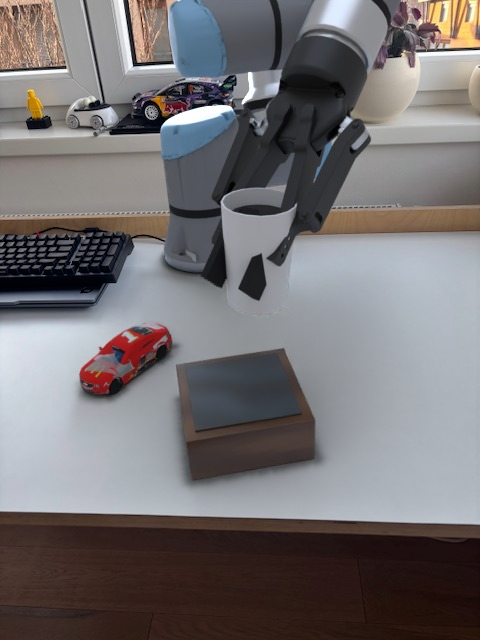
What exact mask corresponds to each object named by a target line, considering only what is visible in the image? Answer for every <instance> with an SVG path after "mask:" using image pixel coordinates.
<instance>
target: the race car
mask: <svg viewBox="0 0 480 640" xmlns="http://www.w3.org/2000/svg"><path fill="white" fill-rule="evenodd" d="M172 346H173V336H172V334H171V333H170V330H169V329H168V328H167V327H166V326H165V325H163V324H159V323H157V322H153V321H149V322H148V321H147V322H143V323H141V324H137V325H134V326H132V327H129V328H126V329H125V330H123V331H121V332H120V333H119V334H117V335H115V336H114V337H113V338H112V339H110V340H109V341H108V342H107V343H105V345H104V346H103V347H102V346H98V349H99V352H98V353H97V354H96V355H95V356H93V357H92V358H91V359H90V360H88V361H87V362H86V363H85V364H83V366H82V367H81V368H80V371H79V373H78V375H79V382H80V386H81V388H82V390H84V392H87V393H89V394H92V395H107V394H108V395H109V394H116V393H118V392H119V391H120V390H121V388H122V386H123V385H125V384H126V383H128V382H129V381H131V380H132V379H134V378H135V377H136V376H138V375H139V374H140V373H142V372H143V371H144V370H146V369H147V368H148V367H149V366H151V365H153V364H154V363H155V362H156V361H157V360H162V359H164V358H165V357H166V355H167V352H169V351H170V350H171V349H172Z"/></svg>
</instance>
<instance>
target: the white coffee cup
mask: <svg viewBox="0 0 480 640" xmlns="http://www.w3.org/2000/svg"><path fill="white" fill-rule="evenodd" d="M284 193H285V190H279V189H276V188H272V187H265V188H247V189H241V190H237V191H233V192H231V193H229V194H227V195H225V196H224V197H223V199H222V200H221V212H222V226H223V238H224V249H225V261H226V274H227V279H226V281H225V284H226V296H227V297H226V298H227V302H228V305H229V307H230V308H232V309H233V310H234V311H236V312H238V313H241V314H243V315H246V316H253V317H261V316H270V315H273V314H276V313H278V312H280V311H282V309H284V308H285V307H286V306H287V301H288V294H289V286H290V285H289V284H290V275H291V268H292V267H291V266H292V257H293V248H294V242H293V243H292V246H291V248H290V250H289V252H288V255H287V257H286V259H285V262H284V263H283V264H282V265H281V266H280V267H279V266H277V265H275V264H274V263H272V262H271V261H269V260H267V259H266V258H267V257H268V256H270V255H271V254H272V253H273V252H274V251H275V250H276V249H277V247H278V246H279V245H280V243H281V242H282V241H283V239H284V238H285V237H287V235H288V233H289V229H290V227H291V224H292V222H293V220H294V218H295V214H296V208H297V203H296V204H295V207H293V208H292V209H290V210H289V211H287V212H284V213H280V214H277V213H279V212H280V208H281V204H282V201H283V197H284ZM274 213H276V214H277V215H274ZM289 239H290V237H289ZM289 239H288V240H289ZM285 248H286V246H285ZM261 253H262V258H263V264H264V271H265V277H266V283H267V285H266V287H265V289H264V292H263V294H262V296H261V299H260V301H257V300H255V299H252V298H251V297H249V296H248V295H246V294H245V293H243V292H242V291H240V290H239V289H238V287H239V285H240V283H241V280H242V278H243V276H244V274H245V271H246V269H247V267H248V265H249V262H250V260H251V258H252V257H253V256H256V255H259V254H261Z"/></svg>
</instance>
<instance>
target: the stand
mask: <svg viewBox="0 0 480 640" xmlns="http://www.w3.org/2000/svg"><path fill="white" fill-rule="evenodd" d="M175 367H176V368H175V369H176V377H177V384H178V393H179V400H180V401H179V402H180V408H181V416H182V424H183V433H184V440H185V447H186V453H187V454H186V455H187V460H188V466H189V467H188V468H189V473H190V480H191V481H195V480H201V479H206V478H212V477H218V476H224V475H228V474H234V473H240V472H246V471H251V470H258V469H262V468H268V467H274V466H280V465H285V464H291V463H296V462H297V463H298V462H303V461H308V460H314V459H315V457H316V454H315V453H316V418H315V416H314V414H313V411H312V409H311V407H310V405H309V402H308V400H307V398H306V396H305V392H304V390H303V388H302V386H301V384H300V382H299V380H298V377H297V374H296V372H295V370H294V368H293V366H292V363H291V360H290V358H289V356H288V354H287V352H286V350H285V348H284V347H282V348H275V349H267V350H261V351H256V352H248V353H242V354H235V355H229V356H222V357H216V358H210V359H203V360H196V361H189V362H184V363H183V362H182V363H177V364H175Z"/></svg>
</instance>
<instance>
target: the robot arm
mask: <svg viewBox="0 0 480 640" xmlns="http://www.w3.org/2000/svg"><path fill="white" fill-rule="evenodd" d="M401 2H402V0H176V1H173V2H172V3H171V4H170V5H169V7H168V12H167V26H168V27H167V28H168V37H169V44H170V49H171V55H172V61H173V65H174V67H175V70H176V71H177V73H178V74H179V75H180V76H182V77H184V78H189V79H191V78H221V77H226V76H234V75H243V74H248V83H249V91H248V93H247V94H246V96H245V97H244V99H243V100H242V102H241V106H242V110H241V111H240V112H239V114H236V112H235V111H234V109H233V108H232V107H231V106H229V105H225V104H224V105H223V104H217V105H213V106H211V105H208V106H202V107H197V108H193V109H190V110H186V111H183V112H180V113H178V114H176V115H174V116H172V117H170V118H168V119H167V120H165V122H164V123H163V124H162V125H161V128H160V131H159V137H160V157H161V159H162V161H163V168H164V170H163V171H164V178H165V186H166V193H167V201H168V208H169V219H168V224H167V228H166V232H165V233H166V234H165V239H164V245H163V252H164V258H165V261H166V263H167V264H168V265H169V266H170V267H173V268H174V269H177V270H180V271H184V272H189V273H200V277H201V278H202V279H203V280H205V281H206V282H208V283H210V284H211V285H213V286H214V287H217V288H219V289H223V287H224V286H225V284H226V279H227V274H226V261H225V249H224V238H223V226H222V212H221V200H222V199H223V197H224V196H225V195H227V194H229V193H231V192H233V191H237V190H241V189H247V188H272V187H280V186H285V185H286V186H285V190H284V191H285V193H284V197H283V201H282V204H281V208H280V212H279V213H277V214H280V213H284V212H287V211H289V210H290V209H292V208H293V207H295V204H296V203H297V208H296V214H295V218H294V220H293V222H292V224H291V227H290V229H289V233H288V235H287V237H285V238H284V239H283V241H282V242H281V243H280V245H279V246H278V247H277V249H276V250H275V251H274V252H273V253H272V254H271V255H270V256H268V257H267V258H266V259H267V260H269V261H271V262H272V263H274V264H275V265H277V266H279V267H280V266H281V265H282V264H283V263H284V262H285V259H286V257H287V255H288V252H289V250H290V248H291V246H292V243H293V244H294V241H295V238H296V237H297V236H298V235H299V234H300V233H304V232H311V233H314V234H316V233H319V232H320V231H321V230H322V229H323V226H324V225H325V222H326V219H327V218H328V216H329V214H330V212H331V210H332V208H333V206H334V204H335V202H336V200H337V198H338V196H339V194H340V192H341V190H342V187H343V185H344V183H345V181H346V179H347V178H348V176H349V173H350V171H351V169H352V167H353V165H354V163H355V161H356V159H357V158H359V156H360V155H361V154H362V152H363V151H365V149H366V148H367V147H368V146H369V145H370V143H371V142H372V136H371V135H370V133H369V131H368V129H367V127H366V125H365V123H364V121H363V120H362V119H361V118H354V119H352V116H351V113H352V112H353V111H354V110H355V108H356V106H357V104H358V102H359V100H360V96H361V94H362V92H363V90H364V87H365V85H366V83H367V81H368V75H369V73H370V72H371V71H372V68H373V66H374V63H375V61H376V60H377V57H378V55H379V52H380V50H381V47H382V45H383V43H384V41H385V38H386V36H387V33H388V32H389V29H390V26H391V24H392V22H393V20H394V17H395V16H396V13H397V11H398V8H399V6H400V5H401ZM334 139H335V140H334ZM333 140H334V141H333ZM277 214H276V213H274V215H277ZM289 237H290V239H289ZM288 239H289V240H288ZM285 246H286V248H285ZM266 285H267V283H266V277H265V271H264V264H263V258H262V253H261V254H259V255H256V256H253V257H252V258H251V260H250V262H249V265H248V267H247V269H246V271H245V274H244V276H243V278H242V280H241V283H240V285H239V287H238V289H239V290H240V291H242V292H243V293H245V294H246V295H248V296H249V297H251V298H252V299H255V300H257V301H260V299H261V296H262V294H263V292H264V289H265V287H266Z"/></svg>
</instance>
